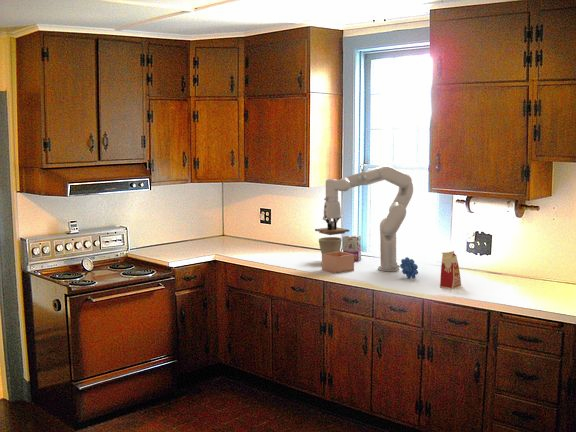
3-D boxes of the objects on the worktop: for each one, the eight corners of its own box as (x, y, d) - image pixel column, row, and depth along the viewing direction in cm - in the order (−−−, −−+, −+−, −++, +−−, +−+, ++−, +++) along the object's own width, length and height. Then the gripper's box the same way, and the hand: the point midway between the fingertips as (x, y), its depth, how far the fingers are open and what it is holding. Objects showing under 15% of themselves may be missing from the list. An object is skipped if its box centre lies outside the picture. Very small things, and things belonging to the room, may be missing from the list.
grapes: (396, 278, 375) (396, 257, 374) (402, 275, 380) (402, 255, 379) (414, 280, 368) (414, 259, 366) (420, 278, 373) (420, 257, 371)
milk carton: (461, 286, 352) (461, 249, 349) (453, 289, 345) (453, 252, 342) (446, 284, 358) (446, 248, 355) (437, 287, 351) (437, 250, 348)
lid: (349, 233, 395) (349, 221, 394) (329, 235, 387) (329, 223, 386) (334, 230, 408) (334, 219, 407) (314, 232, 400) (314, 221, 399)
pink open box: (354, 270, 398) (353, 254, 397) (335, 273, 391) (335, 257, 390) (340, 266, 410) (339, 251, 409) (322, 269, 403) (321, 253, 401)
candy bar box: (361, 260, 428) (361, 235, 426) (358, 261, 424) (358, 236, 422) (345, 259, 434) (345, 234, 431) (342, 260, 429) (342, 236, 427)
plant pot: (320, 260, 431) (320, 236, 429) (343, 260, 428) (342, 237, 426) (317, 265, 416) (317, 240, 414) (340, 265, 413) (340, 240, 411)
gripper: (324, 200, 387) (324, 231, 390) (346, 199, 396) (346, 228, 399) (317, 199, 394) (317, 229, 396) (338, 198, 402) (339, 227, 405)
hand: (332, 229), depth 397 cm, fingers closed on lid, 3 cm apart
